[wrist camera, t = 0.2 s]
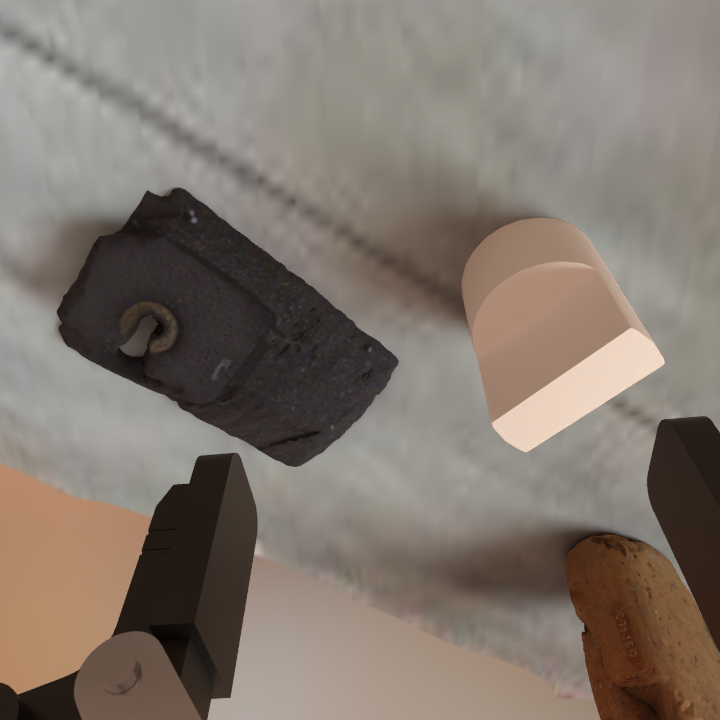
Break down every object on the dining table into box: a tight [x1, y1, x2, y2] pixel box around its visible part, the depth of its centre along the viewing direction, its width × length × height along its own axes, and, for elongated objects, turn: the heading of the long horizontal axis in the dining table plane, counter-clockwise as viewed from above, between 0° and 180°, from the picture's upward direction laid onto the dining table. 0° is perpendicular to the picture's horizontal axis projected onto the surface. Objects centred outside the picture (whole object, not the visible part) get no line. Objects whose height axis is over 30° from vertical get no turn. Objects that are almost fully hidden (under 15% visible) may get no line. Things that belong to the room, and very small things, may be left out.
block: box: [565, 534, 720, 720], centre depth 51 cm, size 11×8×20 cm
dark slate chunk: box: [57, 188, 399, 467], centre depth 44 cm, size 15×22×5 cm
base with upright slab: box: [461, 217, 665, 452], centre depth 37 cm, size 9×9×12 cm
